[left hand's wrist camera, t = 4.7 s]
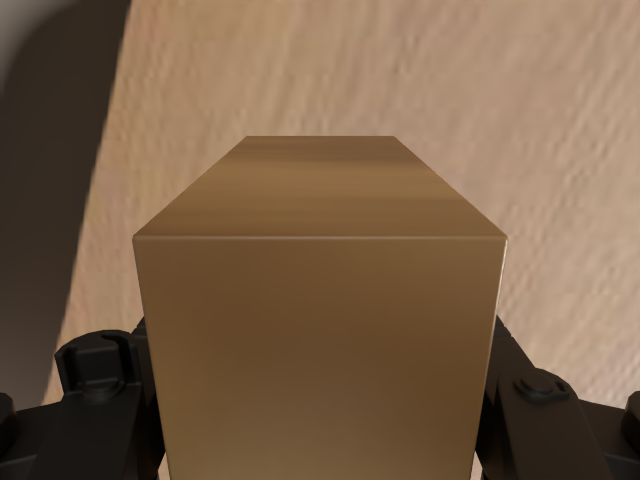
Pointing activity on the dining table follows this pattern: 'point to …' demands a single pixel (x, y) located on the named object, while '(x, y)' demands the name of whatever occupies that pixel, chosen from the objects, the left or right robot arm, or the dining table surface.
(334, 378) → the bar
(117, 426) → the left robot arm
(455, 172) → the dining table surface
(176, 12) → the dining table surface
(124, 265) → the dining table surface
